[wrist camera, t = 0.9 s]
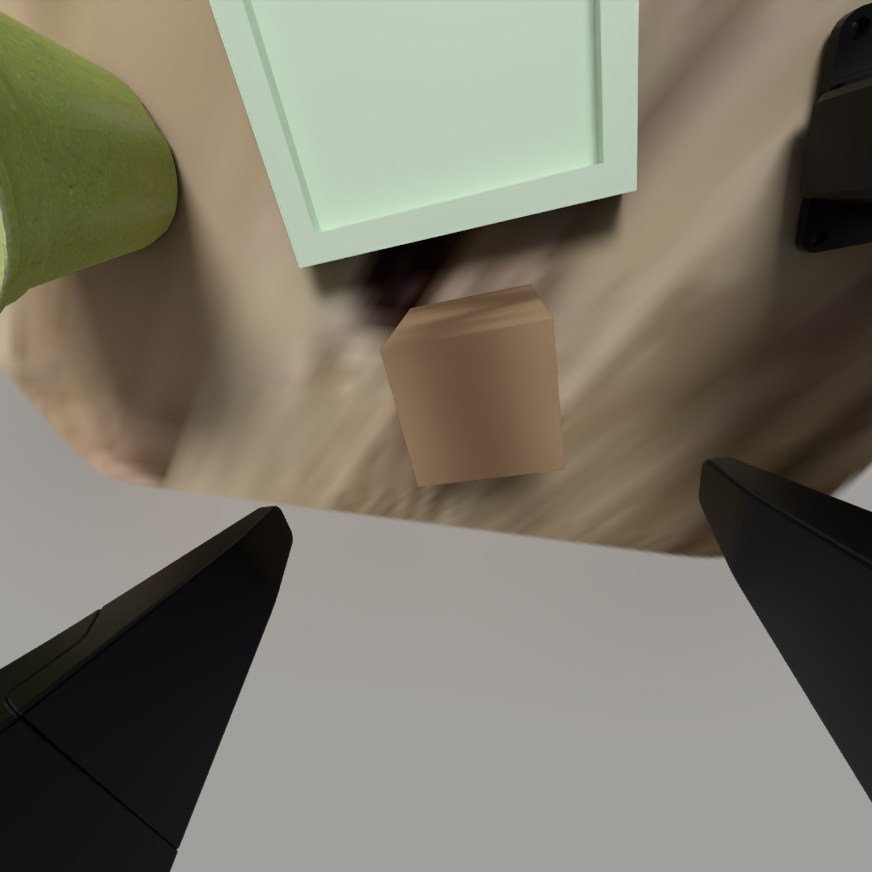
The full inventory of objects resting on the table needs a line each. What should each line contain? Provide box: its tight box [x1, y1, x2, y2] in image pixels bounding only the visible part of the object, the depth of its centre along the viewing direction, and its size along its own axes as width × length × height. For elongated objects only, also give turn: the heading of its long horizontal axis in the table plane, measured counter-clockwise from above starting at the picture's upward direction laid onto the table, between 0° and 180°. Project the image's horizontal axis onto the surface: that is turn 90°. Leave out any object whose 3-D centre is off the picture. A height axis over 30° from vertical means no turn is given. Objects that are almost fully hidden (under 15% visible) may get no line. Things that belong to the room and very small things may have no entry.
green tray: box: [209, 0, 639, 268], centre depth 13 cm, size 12×12×2 cm
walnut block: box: [380, 284, 565, 487], centre depth 16 cm, size 5×5×6 cm
